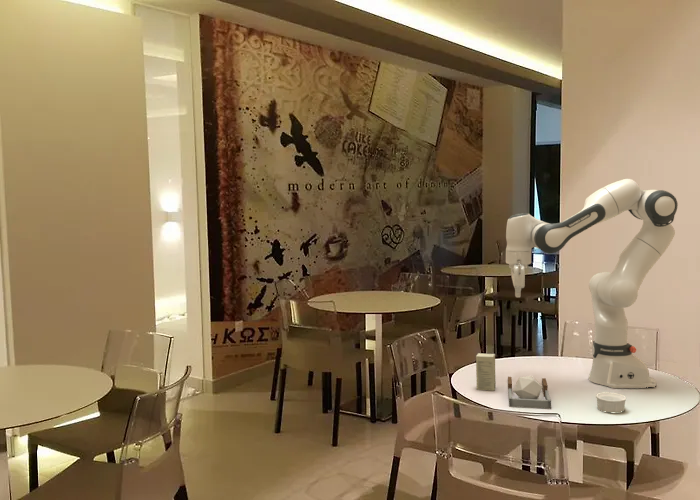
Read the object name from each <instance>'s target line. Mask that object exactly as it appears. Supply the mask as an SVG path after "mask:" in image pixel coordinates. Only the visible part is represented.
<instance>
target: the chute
mask: <svg viewBox="0 0 700 500" xmlns="http://www.w3.org/2000/svg"><path fill="white" fill-rule="evenodd" d="M541 386H542V387H543V388H542V390H541V392H542V395H543V397H544V398H545V390H548V389H549V388H548V387H549V385H548V382H547V379H546V378H545V377H544V378H543V377H541ZM508 388H510V389H511V390H512V391H513V379H512V376H507V389H508ZM548 391H549V390H548Z"/></svg>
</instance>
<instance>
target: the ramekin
mask: <svg viewBox="0 0 700 500" xmlns="http://www.w3.org/2000/svg"><path fill="white" fill-rule="evenodd" d="M595 398H596V403H597V404H596V405H597V409H598V410H599V409H600V410H599V411H601V410H602V411H601V412H603V411H606V412H605V413H607V412H621V411H623V412H624V411H625V405H626V400H627V397H626V396H625V395H624V394H621V393H616V392H606V391H605V392H599V393H597V394H596V396H595ZM621 413H622V412H621Z"/></svg>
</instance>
